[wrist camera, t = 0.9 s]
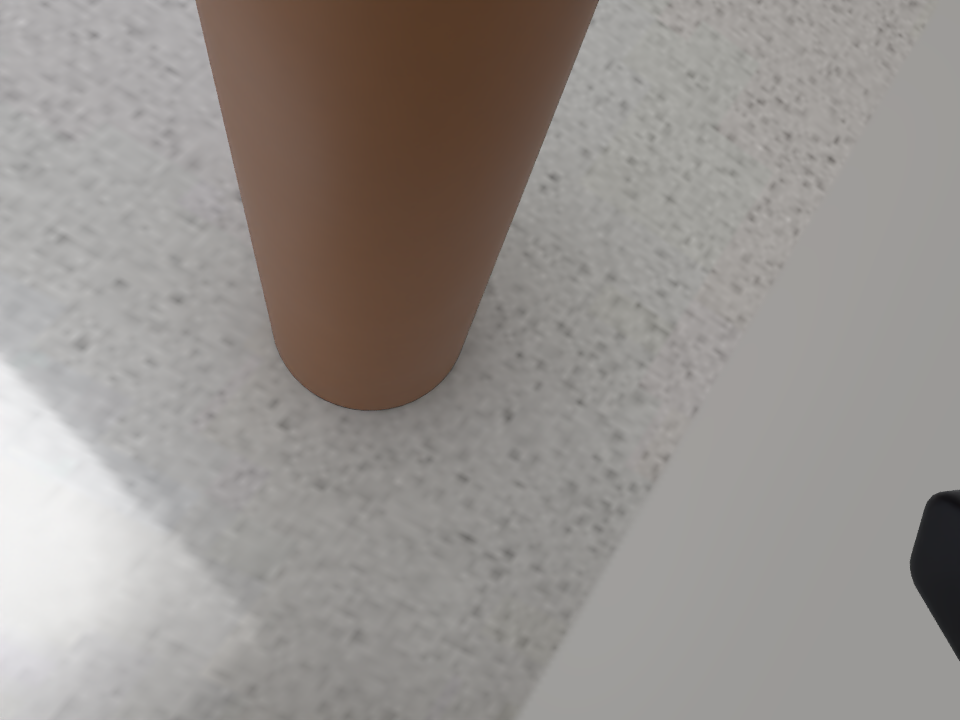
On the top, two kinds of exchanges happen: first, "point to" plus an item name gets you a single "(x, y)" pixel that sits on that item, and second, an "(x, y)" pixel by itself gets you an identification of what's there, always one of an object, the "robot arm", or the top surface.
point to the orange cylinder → (383, 169)
